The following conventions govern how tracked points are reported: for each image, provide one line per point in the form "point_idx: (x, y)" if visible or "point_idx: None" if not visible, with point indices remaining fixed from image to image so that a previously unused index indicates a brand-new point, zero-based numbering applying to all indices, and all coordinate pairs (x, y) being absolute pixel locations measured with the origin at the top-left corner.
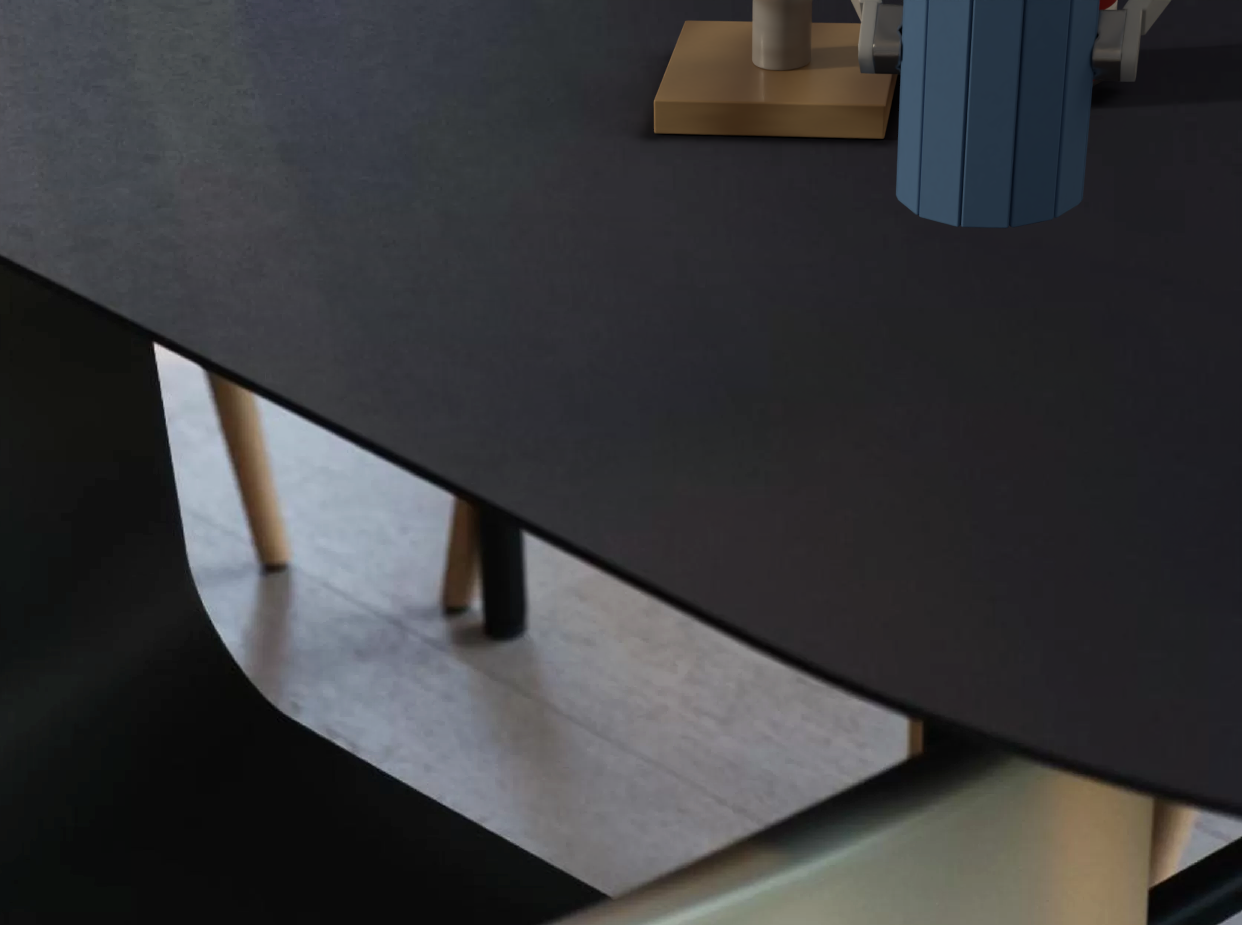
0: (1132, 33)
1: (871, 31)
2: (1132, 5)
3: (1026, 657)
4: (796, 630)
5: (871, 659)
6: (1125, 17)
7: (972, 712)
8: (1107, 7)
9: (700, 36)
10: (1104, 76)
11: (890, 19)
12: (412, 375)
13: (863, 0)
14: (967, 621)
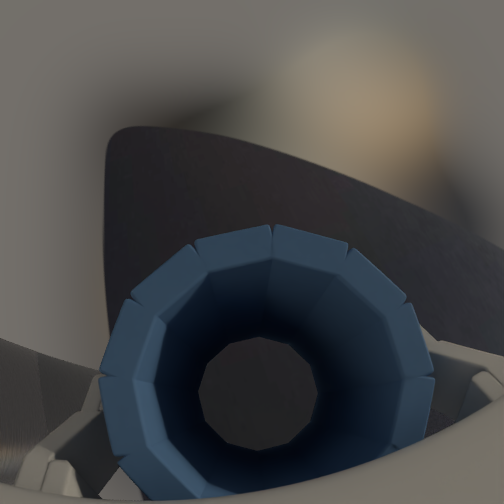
0: (94, 388)
1: None
2: (90, 414)
3: (169, 161)
4: (253, 151)
5: (221, 144)
6: (99, 402)
7: (181, 132)
8: None
9: None
10: None
11: None
12: (488, 282)
13: (439, 342)
14: (194, 173)
